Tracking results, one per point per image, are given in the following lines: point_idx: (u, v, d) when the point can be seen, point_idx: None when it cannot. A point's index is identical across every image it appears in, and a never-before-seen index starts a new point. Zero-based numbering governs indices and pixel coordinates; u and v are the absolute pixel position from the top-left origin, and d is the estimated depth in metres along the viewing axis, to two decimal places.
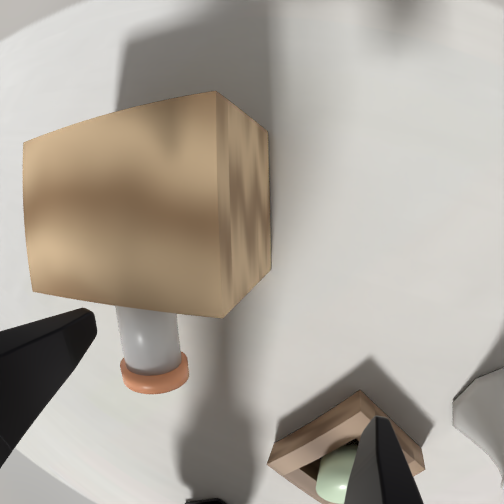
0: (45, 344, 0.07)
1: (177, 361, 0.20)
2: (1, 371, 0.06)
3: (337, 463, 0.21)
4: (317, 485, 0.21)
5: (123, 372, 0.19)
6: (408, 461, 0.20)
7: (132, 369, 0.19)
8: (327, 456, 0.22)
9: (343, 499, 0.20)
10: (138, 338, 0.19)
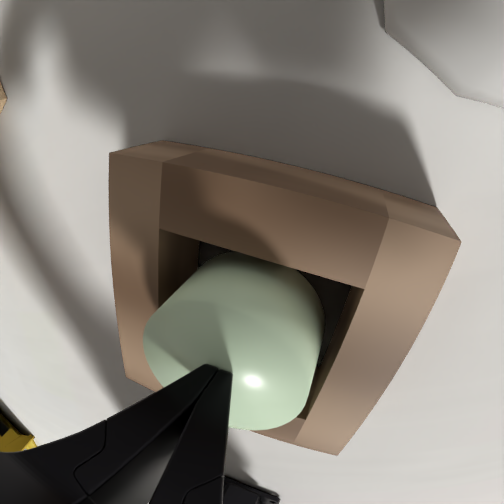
0: (180, 420, 0.06)
1: None
2: (131, 466, 0.05)
3: None
4: (164, 386, 0.10)
5: None
6: (372, 232, 0.07)
7: None
8: None
9: (255, 415, 0.09)
10: None
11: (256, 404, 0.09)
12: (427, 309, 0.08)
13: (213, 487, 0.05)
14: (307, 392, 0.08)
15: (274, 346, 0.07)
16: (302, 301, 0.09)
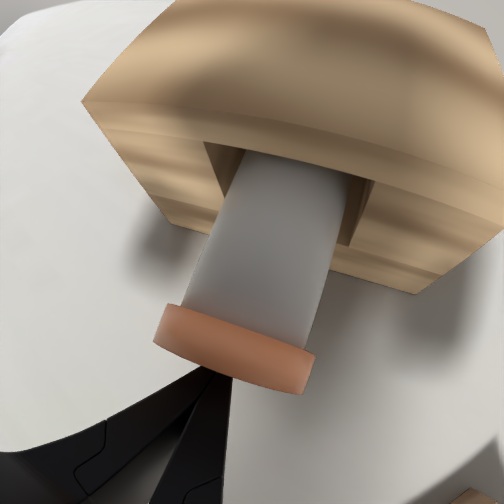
0: (180, 420, 0.06)
1: None
2: (131, 466, 0.05)
3: None
4: None
5: (184, 311, 0.08)
6: None
7: (217, 309, 0.08)
8: None
9: None
10: (282, 235, 0.09)
11: None
12: None
13: (213, 487, 0.05)
14: None
15: None
16: None
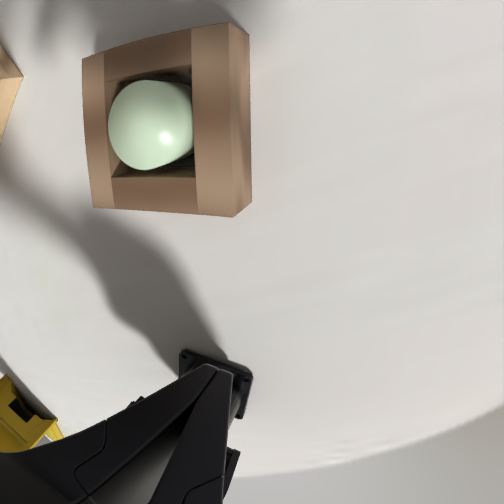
0: (180, 420, 0.06)
1: None
2: (131, 465, 0.05)
3: None
4: (119, 155, 0.17)
5: None
6: (186, 37, 0.13)
7: None
8: None
9: (162, 146, 0.16)
10: None
11: (160, 135, 0.16)
12: (226, 60, 0.13)
13: (213, 487, 0.05)
14: (179, 111, 0.15)
15: (158, 90, 0.15)
16: (182, 87, 0.16)
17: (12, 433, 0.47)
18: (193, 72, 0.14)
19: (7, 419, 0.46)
